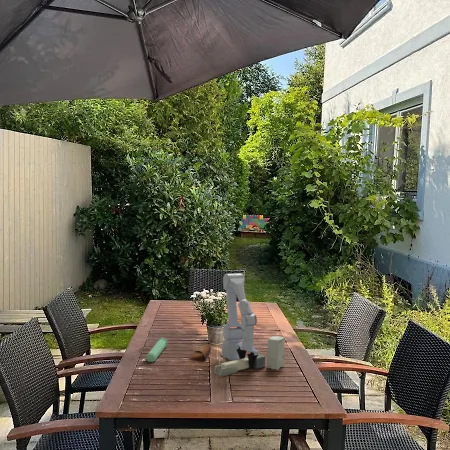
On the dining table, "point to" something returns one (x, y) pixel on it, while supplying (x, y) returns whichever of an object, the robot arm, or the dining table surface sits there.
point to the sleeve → (226, 370)
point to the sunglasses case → (201, 353)
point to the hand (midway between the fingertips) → (246, 365)
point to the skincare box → (275, 352)
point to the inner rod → (241, 364)
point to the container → (156, 349)
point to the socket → (259, 361)
